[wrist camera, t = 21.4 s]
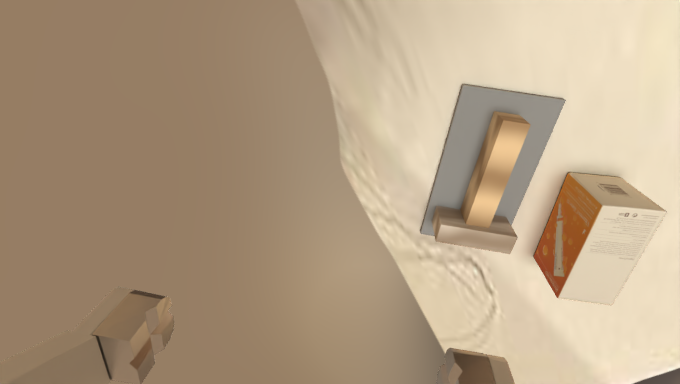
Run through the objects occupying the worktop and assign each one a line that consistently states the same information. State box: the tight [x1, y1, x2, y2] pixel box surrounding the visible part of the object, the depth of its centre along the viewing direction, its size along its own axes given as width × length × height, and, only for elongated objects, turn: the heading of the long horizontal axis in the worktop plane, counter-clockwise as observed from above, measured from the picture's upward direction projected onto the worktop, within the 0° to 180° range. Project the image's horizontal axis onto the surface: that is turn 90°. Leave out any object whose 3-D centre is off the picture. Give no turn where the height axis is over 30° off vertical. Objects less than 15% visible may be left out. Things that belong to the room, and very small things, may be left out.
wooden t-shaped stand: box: [432, 111, 531, 254], centre depth 41 cm, size 16×9×4 cm, turn 173°
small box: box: [534, 172, 667, 305], centre depth 41 cm, size 8×6×13 cm
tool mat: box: [420, 84, 566, 236], centre depth 43 cm, size 20×11×1 cm, turn 173°
